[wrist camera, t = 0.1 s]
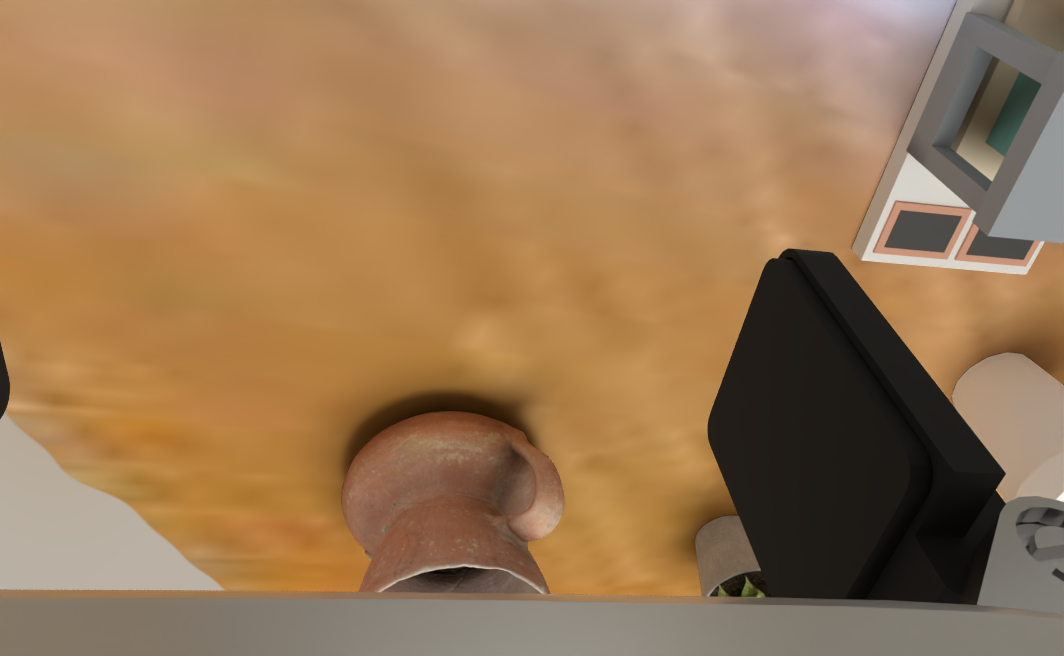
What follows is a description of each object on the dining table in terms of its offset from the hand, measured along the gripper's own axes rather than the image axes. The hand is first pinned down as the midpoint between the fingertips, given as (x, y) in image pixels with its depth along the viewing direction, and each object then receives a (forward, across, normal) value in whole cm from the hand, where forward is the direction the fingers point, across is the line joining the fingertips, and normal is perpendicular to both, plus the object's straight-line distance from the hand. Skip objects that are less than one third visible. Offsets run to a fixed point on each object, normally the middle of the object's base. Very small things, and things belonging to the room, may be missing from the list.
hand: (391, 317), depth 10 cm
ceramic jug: (+37, -6, +38) cm, 53 cm away
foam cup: (+37, -46, +28) cm, 65 cm away
